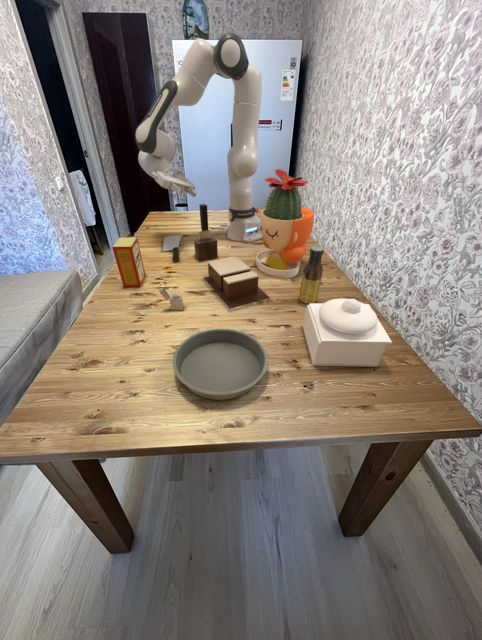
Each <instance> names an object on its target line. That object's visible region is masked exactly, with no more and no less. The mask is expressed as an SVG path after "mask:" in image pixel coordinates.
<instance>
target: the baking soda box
mask: <svg viewBox="0 0 482 640" xmlns="http://www.w3.org/2000/svg"><path fill="white" fill-rule="evenodd" d="M111 249H112V251H113V254H114V258H115V262H116V265H117V268H118V272H119V276H120V279H121V283H122V286H123V288H141V287H142V285H143V282H144V280H145V278H146V276H147V275H146V271H145V266H144V262H143V257H142V253H141V248H140V244H139V239H138V236H123V237H121V236H120V237H119V238H118V239H117V240H116V241H115V243H114V244H113V246H112V247H111Z"/></svg>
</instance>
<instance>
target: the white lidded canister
mask: <svg viewBox="0 0 482 640" xmlns="http://www.w3.org/2000/svg"><path fill="white" fill-rule="evenodd" d="M302 329H303V334H304V336H305V341H306V345H307V349H308V353H309V357H310V360H311V364H312V366H318V367H319V366H321V367H322V366H323V367H325V366H327V367H370V368H371V367H372V368H373V367H375V368H377V367H379V365H380V363H381V361H382V358H383V356H384V354H385V352H386V350H387V349H388V346H389V345H392V343H393V340H392V339H391V338H390V336H389V335H388V333H387V331H386V329H385V328H384V327H383V325H382V323H381V322H380V319H379V318H378V316H377V313H376V312H375V311H374V310H373V308H372V307H371V305H370V304H368V303H363V302H362V301H359V300H357V299H356V298H343V297H342V298H332V299H329V300H327V301H325V302H323V303H317V302H316V303H310V304H309V305H308V304H306V308H305V312H304V317H303V323H302Z"/></svg>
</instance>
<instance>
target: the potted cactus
mask: <svg viewBox="0 0 482 640" xmlns="http://www.w3.org/2000/svg"><path fill="white" fill-rule="evenodd" d="M274 173H275V175H276V176H277V177H278V178H279V179H280V180H281V181H280V180H278V179H277V178H276V177H268V178H265V179H264V181H265V182H267V183H269V184H268V187H269V188H271V189H270V192H268V195H269V196H268V197H267V199H266V200H265V201H264V202H265V205H264V209H263V210H262V211H261V215H260V219H261V220H260V230H261V233H262V237H263V238H262V239H263V240H262V245H263V246H264V247H265V248H267V249H265V250H261V251H260V252H258V253H257V254H256V257H255V264H256V267H257V268H258V269H259V270H260V271H263V272H264V273H266V274H269V275H272V276H277V277H283V279H292V278H294V277H296V276H297V275H298V274H299V270H300V266H301V265H300V264H301V262H300V261H301V260H302V259H303V258H304V256H305V254H306V252H307V250H308V249H307V248H308V245H307V242H308V240H309V238H310V237H311V235H312V231H313V228H314V223H315V214H314V213H315V212H314V211H313V210H312V209H311V208H307V207H304V205H303V203H304V200H303V198H302V197H301V196H302V193H301V190H299V188H298V187H305V186H306V184H308V183H309V181H307V180H304V177H302V176H299V177H296V178H295V177H294V176H293V177H291V175H288V172H287V171H285V170H283V169H279V168H278V169H275V170H274ZM261 262H262V263H261ZM263 263H264V264H263ZM266 265H267V266H266Z"/></svg>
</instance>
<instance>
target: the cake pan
mask: <svg viewBox="0 0 482 640" xmlns="http://www.w3.org/2000/svg"><path fill="white" fill-rule="evenodd" d="M268 367H269V357H268V352H267V351H266V349H265V347H264V346H263V344H262V343H261V342H260V341H259V340H258V339H257V338H255V337H254V336H252V335H250V334H248V333H246V332H244V331H241V330H237V329H232V328H211V329H206V330H203V331H199V332H197V333H195V334H192V335H190V336H188V337H187V338H186V339H184V340H183V341H182V342H180V344H179V345H178V346H177V347H176V349H175V351H174V354H173V357H172V369H173V373H174V374H175V377H176V378H177V379H178V381H180V382H181V383H182V384H183V385H184V386H185V387H186V388H187V389H188V390H189V391H191V392H192V393H193V394H195V395H197V396H199V397H202V398H204V399H207V400H215V401H216V400H217V401H222V400H223V401H225V400H231V399H235V398H237V397H241V396H242V395H244V394H247V393H248V392H249V391H250V390H252V389H253V388H254V386H255V385H256V384H257V383H258V382H260V380H262V378H263V377H264V376H265V374H266V372H267V370H268Z"/></svg>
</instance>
